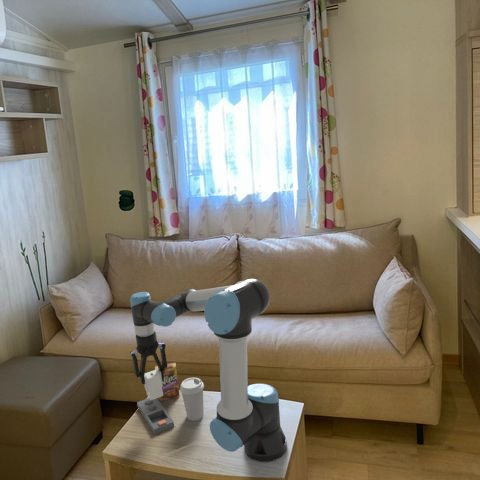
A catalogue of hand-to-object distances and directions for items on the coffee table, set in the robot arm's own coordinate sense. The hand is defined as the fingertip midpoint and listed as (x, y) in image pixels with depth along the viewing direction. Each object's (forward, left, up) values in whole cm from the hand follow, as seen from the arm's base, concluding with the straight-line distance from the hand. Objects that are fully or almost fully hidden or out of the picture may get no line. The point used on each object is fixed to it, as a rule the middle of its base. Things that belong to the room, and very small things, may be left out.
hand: (153, 387), depth 180 cm
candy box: (+14, -10, -15) cm, 23 cm away
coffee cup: (-5, -14, -15) cm, 21 cm away
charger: (0, 0, -3) cm, 3 cm away
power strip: (+4, 0, -15) cm, 16 cm away
